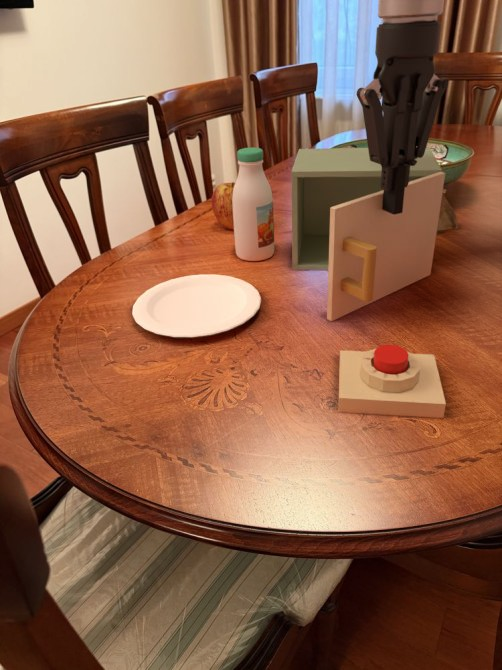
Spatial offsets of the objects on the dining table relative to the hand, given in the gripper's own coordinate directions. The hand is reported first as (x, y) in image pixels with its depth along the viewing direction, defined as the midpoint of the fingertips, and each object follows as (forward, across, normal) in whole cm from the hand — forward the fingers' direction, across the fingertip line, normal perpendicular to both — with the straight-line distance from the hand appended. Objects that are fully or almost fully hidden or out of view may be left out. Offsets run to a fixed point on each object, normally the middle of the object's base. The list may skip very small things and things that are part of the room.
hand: (392, 211), depth 75 cm
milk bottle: (+15, +9, -29) cm, 34 cm away
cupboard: (+15, -8, -19) cm, 26 cm away
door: (+15, -2, 0) cm, 16 cm away
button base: (+16, +13, +17) cm, 27 cm away
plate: (+16, +27, -14) cm, 34 cm away
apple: (+15, +6, -46) cm, 49 cm away
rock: (+16, -27, -20) cm, 37 cm away
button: (+12, +13, +17) cm, 25 cm away
